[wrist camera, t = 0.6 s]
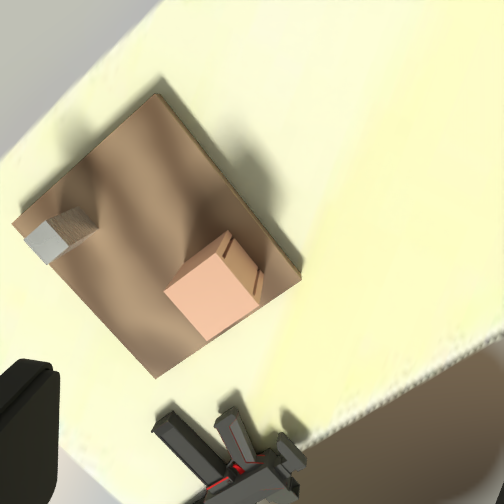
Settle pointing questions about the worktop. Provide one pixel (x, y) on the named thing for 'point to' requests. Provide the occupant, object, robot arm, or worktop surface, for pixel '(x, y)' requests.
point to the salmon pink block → (216, 286)
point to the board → (152, 232)
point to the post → (60, 234)
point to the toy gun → (242, 452)
